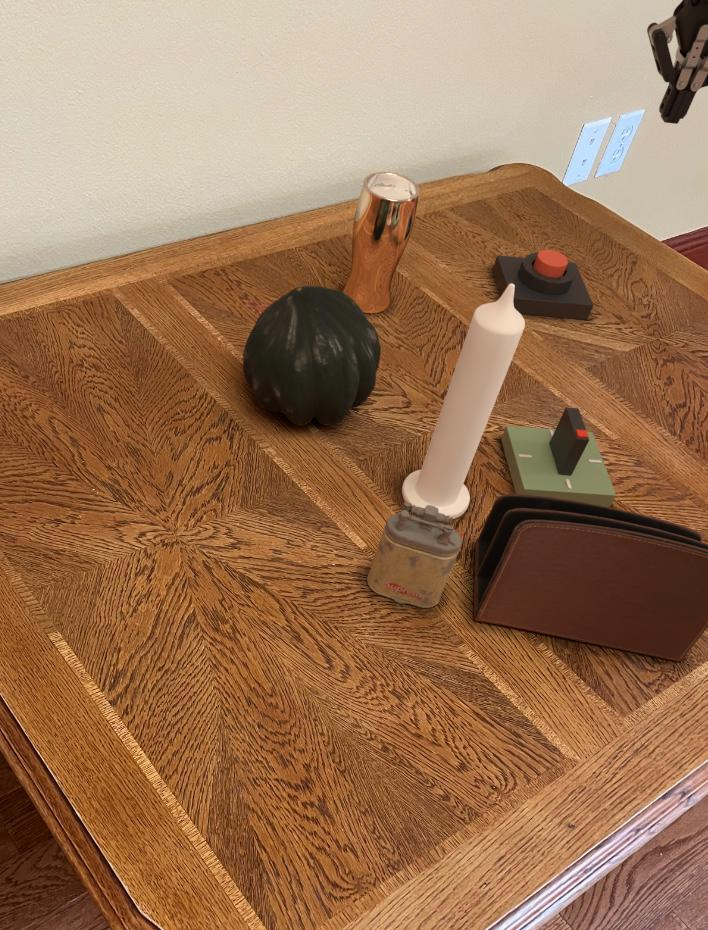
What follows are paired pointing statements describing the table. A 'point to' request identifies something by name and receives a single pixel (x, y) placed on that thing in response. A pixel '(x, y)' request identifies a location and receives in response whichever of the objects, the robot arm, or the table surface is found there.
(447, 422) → the candle
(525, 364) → the table surface
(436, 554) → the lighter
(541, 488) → the dial panel
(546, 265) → the red button
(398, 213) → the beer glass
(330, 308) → the squash
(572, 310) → the button housing
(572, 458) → the dial
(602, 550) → the letter holder
